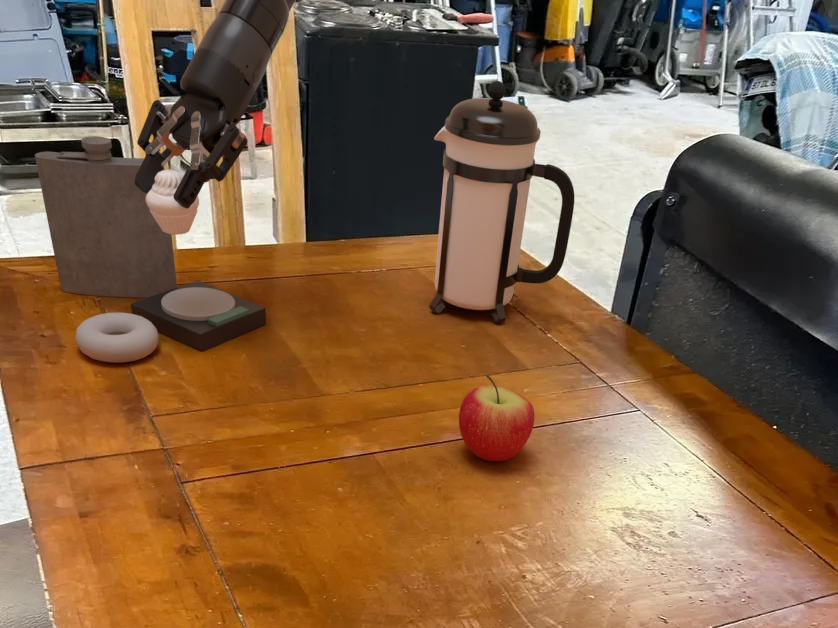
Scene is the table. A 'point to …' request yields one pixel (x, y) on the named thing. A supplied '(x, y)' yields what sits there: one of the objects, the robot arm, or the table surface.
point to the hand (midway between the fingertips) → (160, 196)
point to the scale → (200, 314)
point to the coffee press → (490, 204)
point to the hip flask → (103, 224)
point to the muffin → (170, 204)
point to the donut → (116, 337)
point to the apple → (495, 422)
